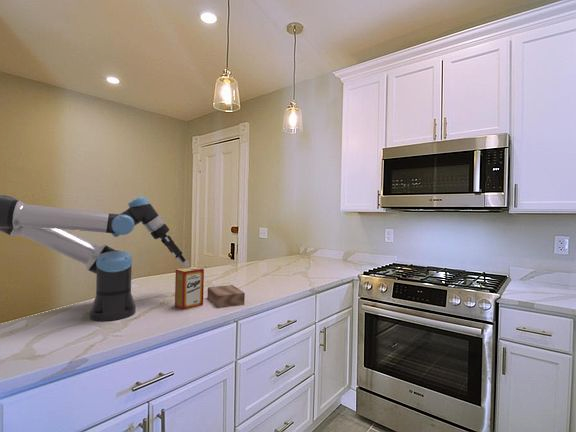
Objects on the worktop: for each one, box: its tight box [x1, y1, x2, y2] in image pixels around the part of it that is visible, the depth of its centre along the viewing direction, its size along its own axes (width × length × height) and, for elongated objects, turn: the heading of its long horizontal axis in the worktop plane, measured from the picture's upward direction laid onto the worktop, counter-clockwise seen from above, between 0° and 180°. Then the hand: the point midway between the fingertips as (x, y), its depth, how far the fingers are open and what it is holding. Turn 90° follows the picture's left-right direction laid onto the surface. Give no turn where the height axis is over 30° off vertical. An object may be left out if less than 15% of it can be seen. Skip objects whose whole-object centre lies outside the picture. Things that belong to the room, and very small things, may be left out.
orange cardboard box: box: [174, 266, 205, 311], centre depth 129 cm, size 10×6×16 cm
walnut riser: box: [206, 284, 246, 309], centre depth 137 cm, size 12×16×5 cm
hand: (185, 264), depth 142 cm, fingers open, 13 cm apart
